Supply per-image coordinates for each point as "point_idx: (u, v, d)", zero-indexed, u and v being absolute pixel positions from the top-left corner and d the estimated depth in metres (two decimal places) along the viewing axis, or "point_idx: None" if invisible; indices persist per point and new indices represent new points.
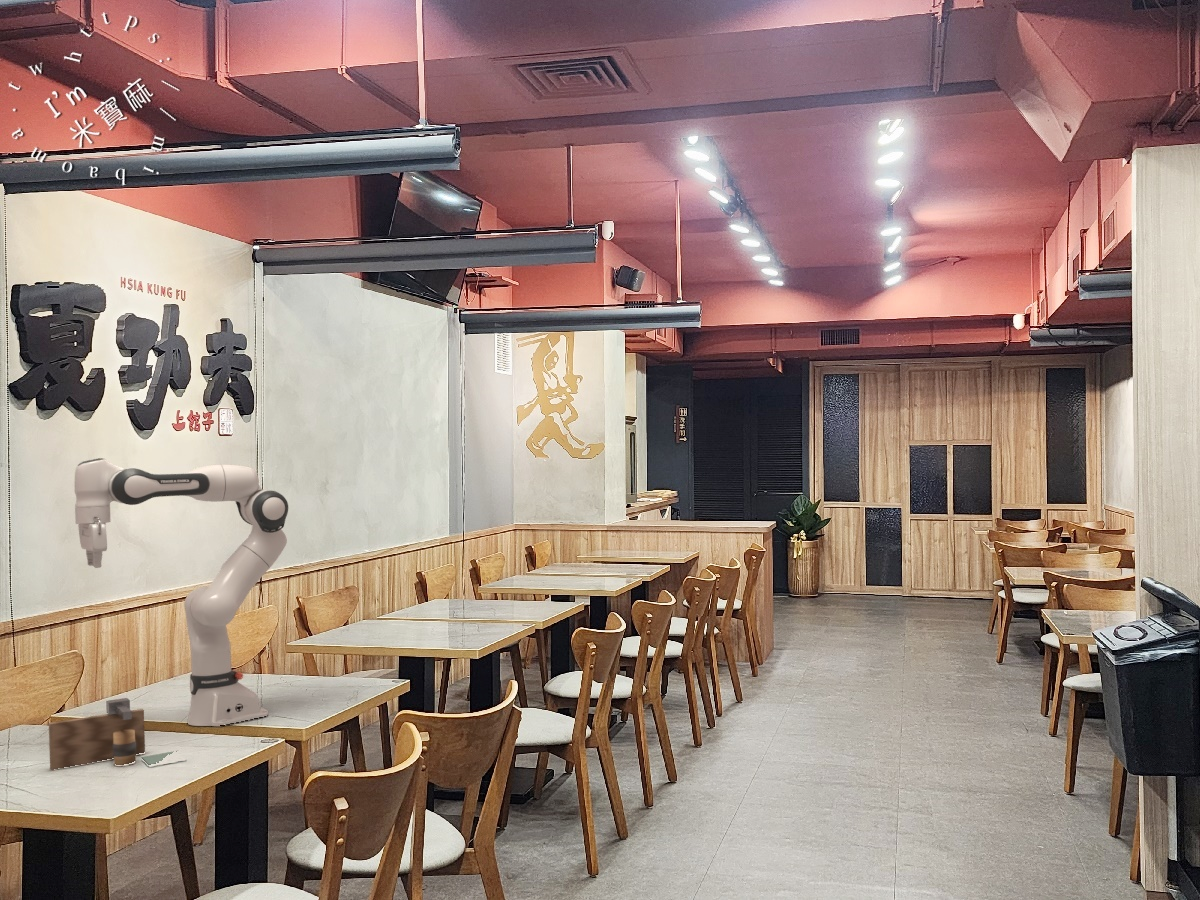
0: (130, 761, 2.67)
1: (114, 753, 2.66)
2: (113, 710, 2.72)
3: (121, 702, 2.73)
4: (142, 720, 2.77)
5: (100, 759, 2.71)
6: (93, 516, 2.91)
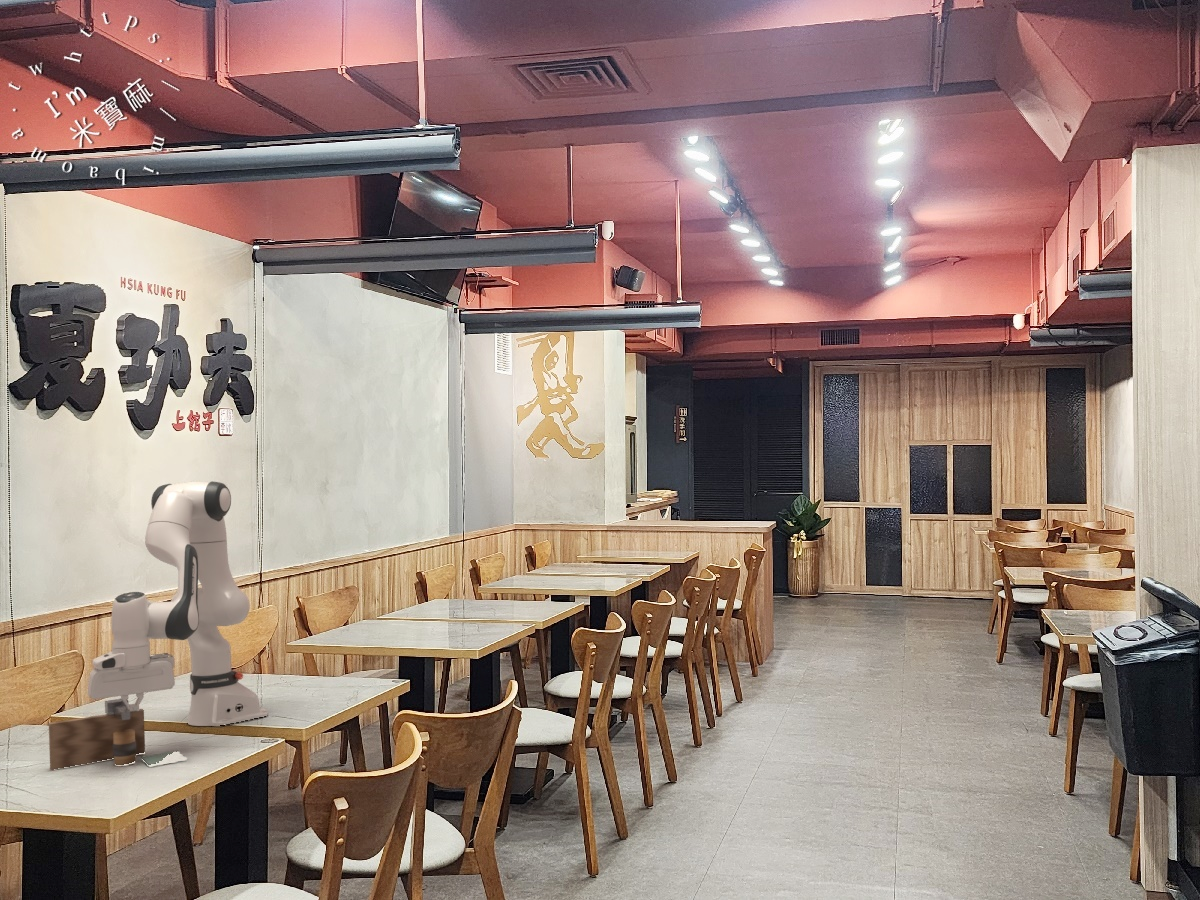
0: (130, 761, 2.67)
1: (114, 753, 2.66)
2: (112, 710, 2.72)
3: (120, 702, 2.73)
4: (142, 720, 2.77)
5: (100, 759, 2.71)
6: None
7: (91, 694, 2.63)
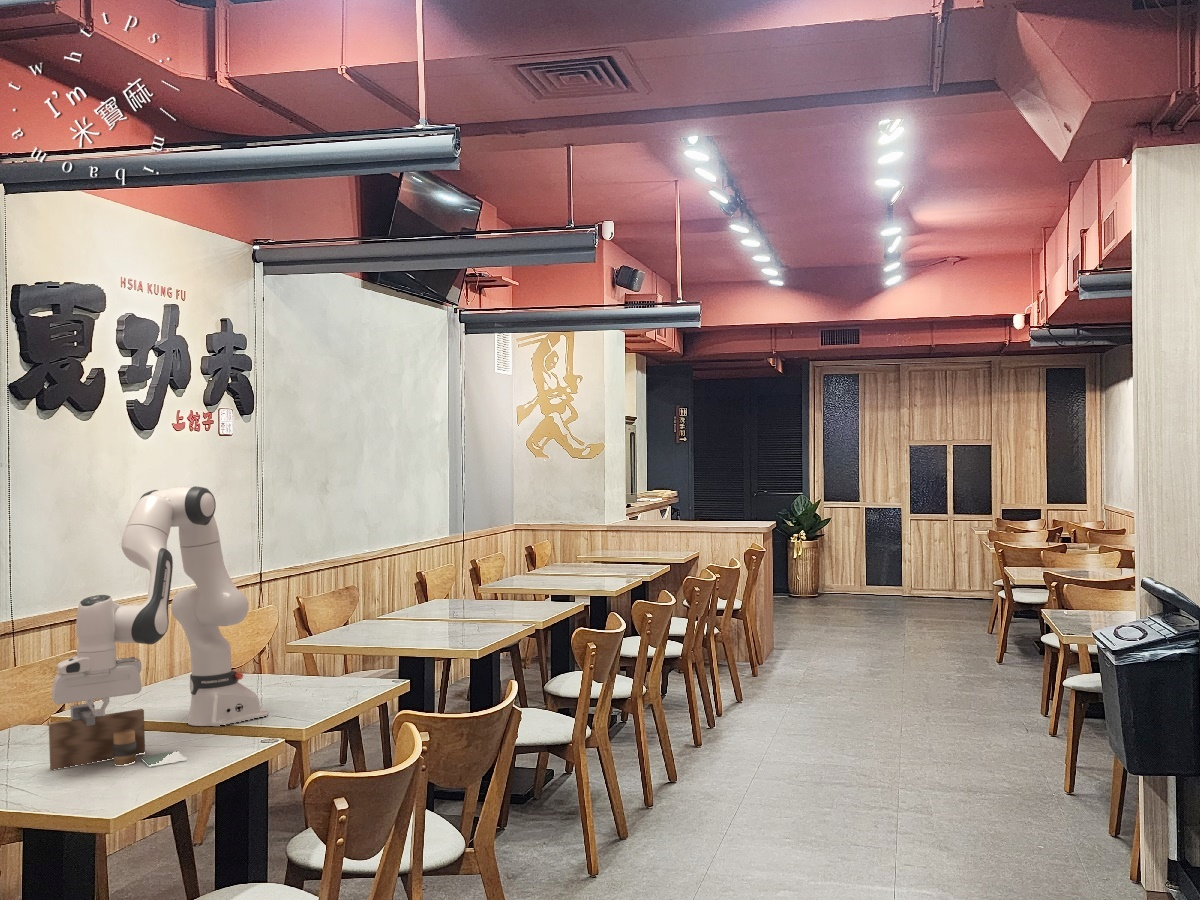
0: (130, 761, 2.67)
1: (114, 753, 2.66)
2: (77, 715, 2.67)
3: (85, 707, 2.68)
4: (142, 720, 2.77)
5: (100, 759, 2.71)
6: None
7: (55, 699, 2.58)
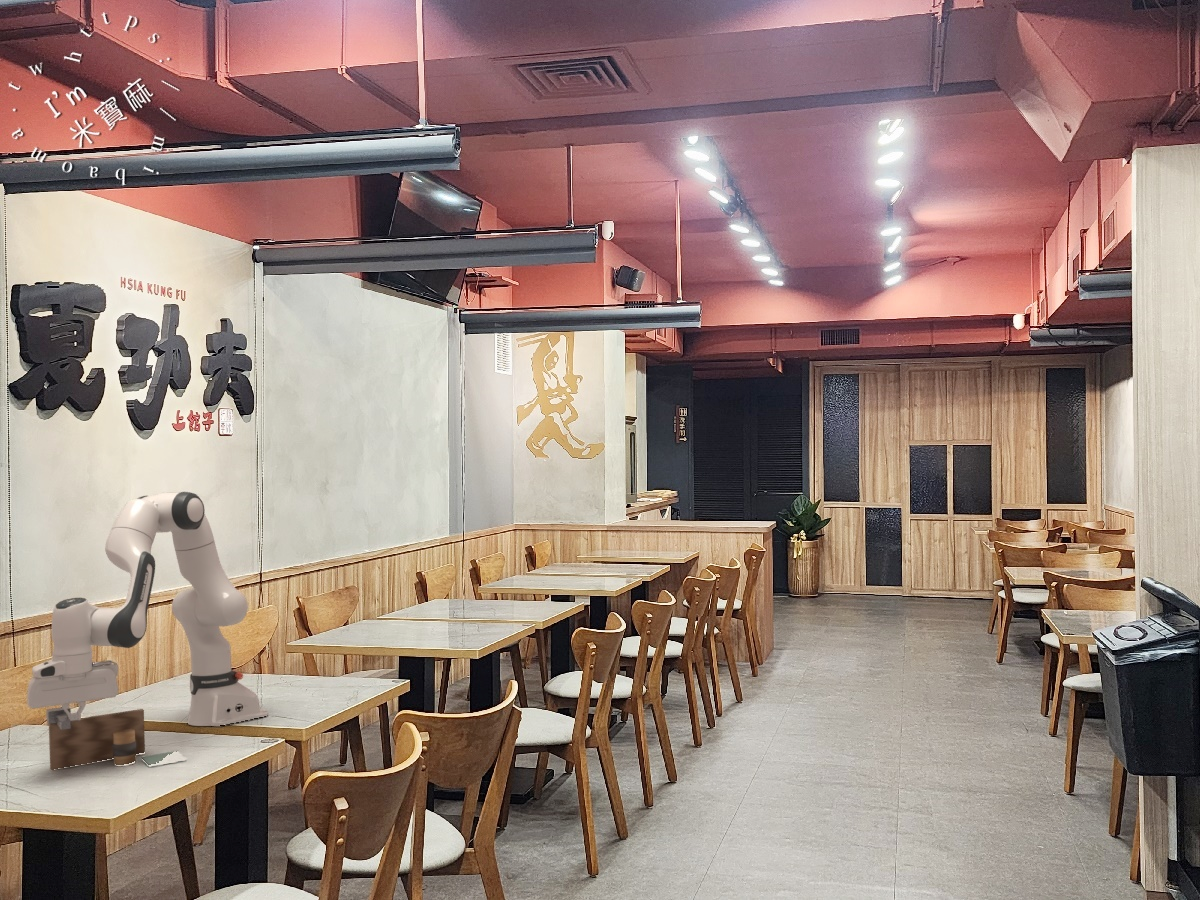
0: (130, 761, 2.67)
1: (114, 753, 2.66)
2: (53, 719, 2.64)
3: (61, 711, 2.65)
4: (142, 720, 2.77)
5: (100, 759, 2.71)
6: None
7: (29, 703, 2.55)
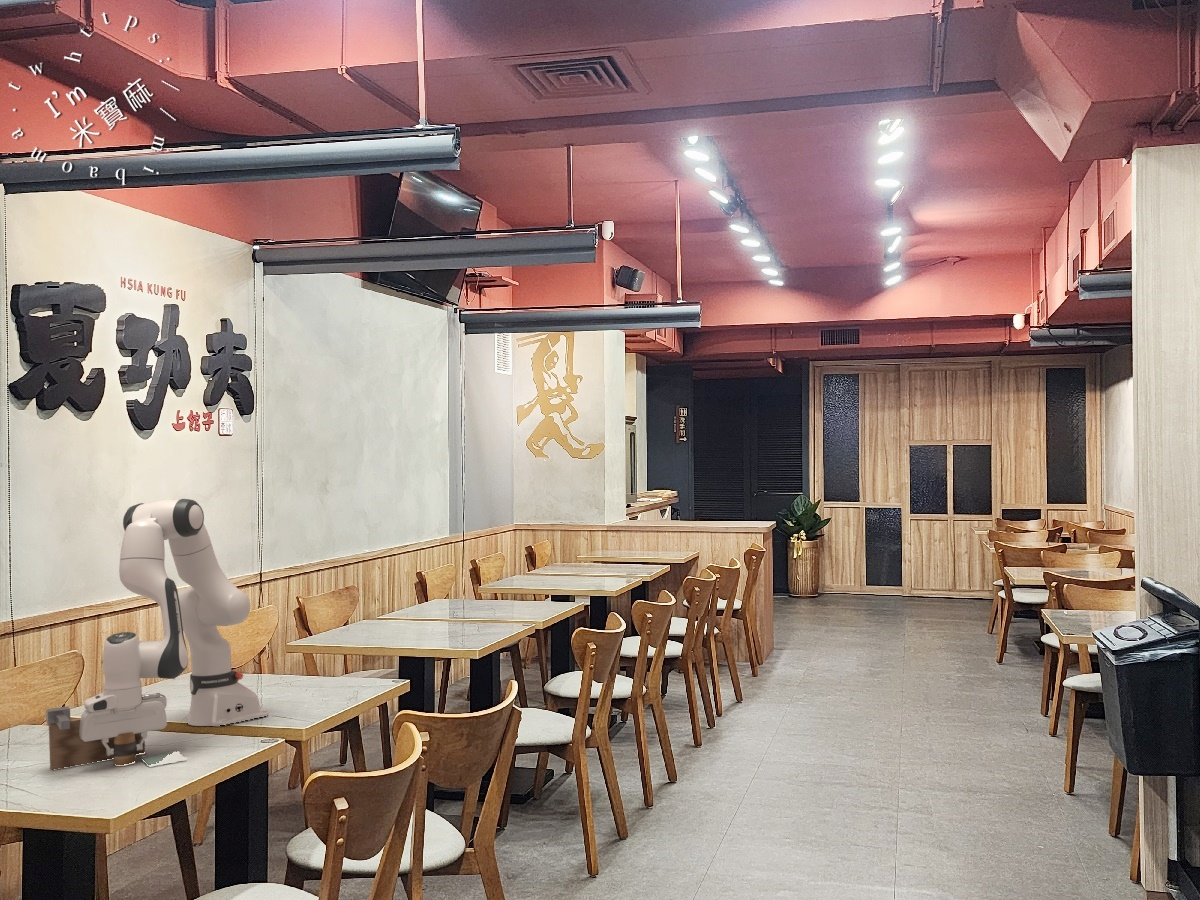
0: (130, 761, 2.67)
1: (114, 753, 2.66)
2: (52, 719, 2.64)
3: (61, 711, 2.65)
4: None
5: (100, 759, 2.71)
6: (141, 694, 2.71)
7: (82, 736, 2.62)
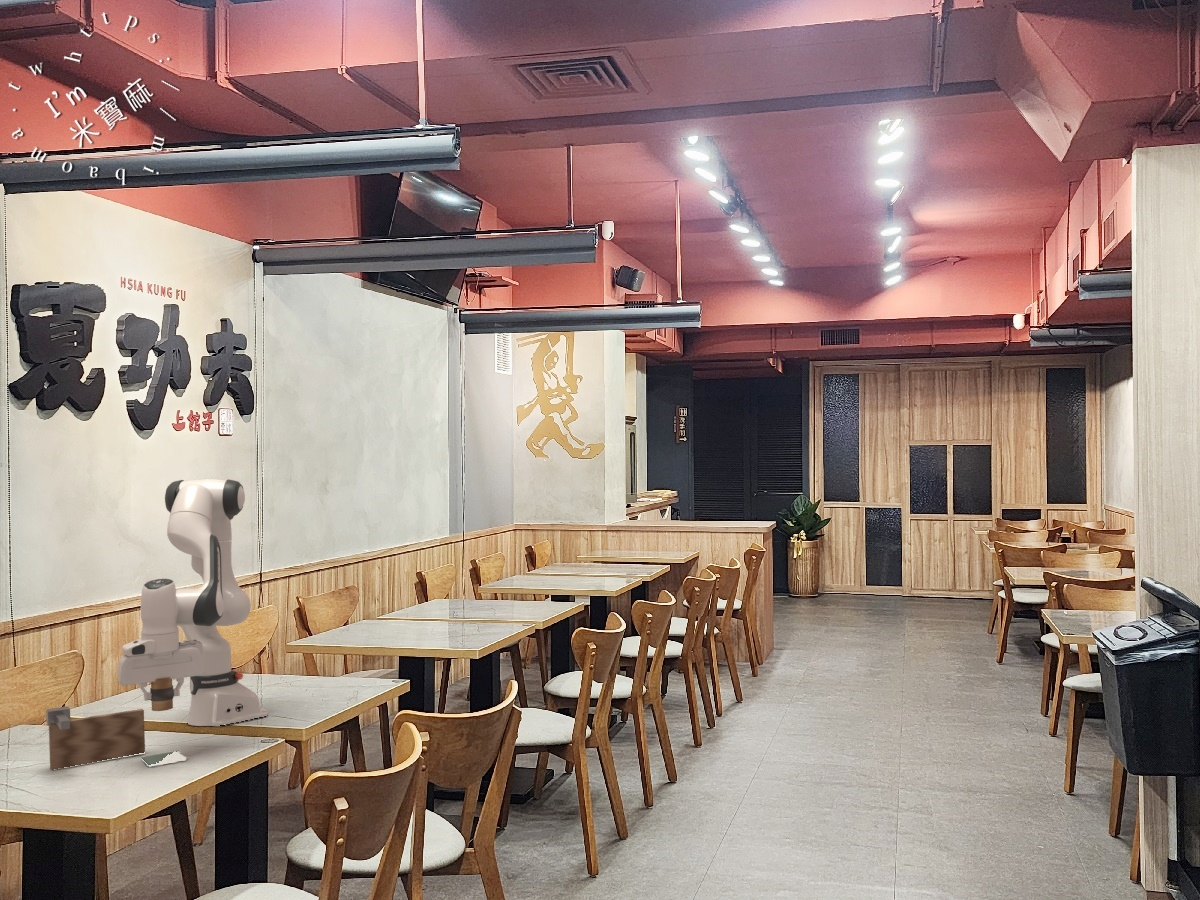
0: (168, 706, 2.69)
1: (152, 698, 2.68)
2: (52, 719, 2.64)
3: (61, 711, 2.65)
4: (142, 720, 2.77)
5: (100, 759, 2.71)
6: None
7: (121, 680, 2.63)
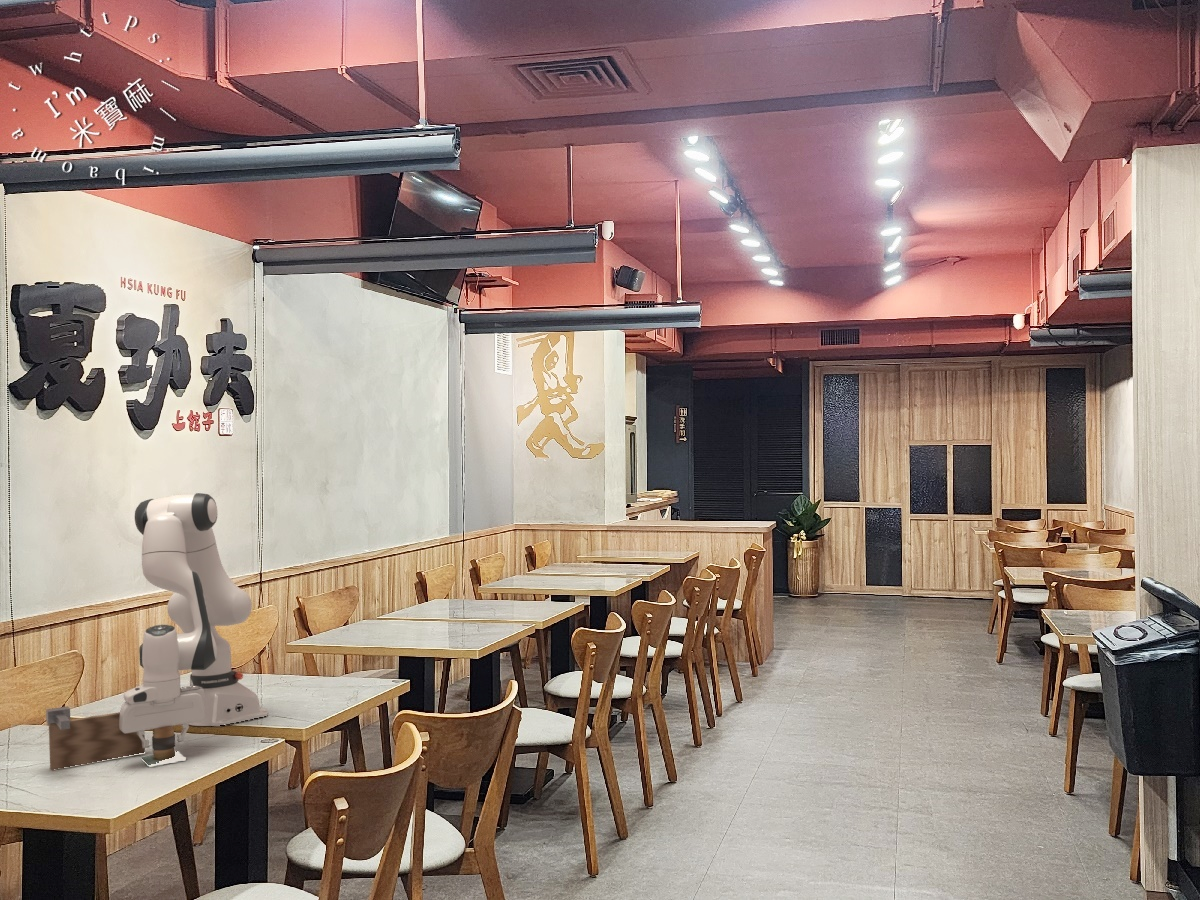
0: (169, 755, 2.69)
1: (154, 747, 2.68)
2: (52, 719, 2.64)
3: (61, 711, 2.65)
4: None
5: (100, 759, 2.71)
6: None
7: (123, 728, 2.63)
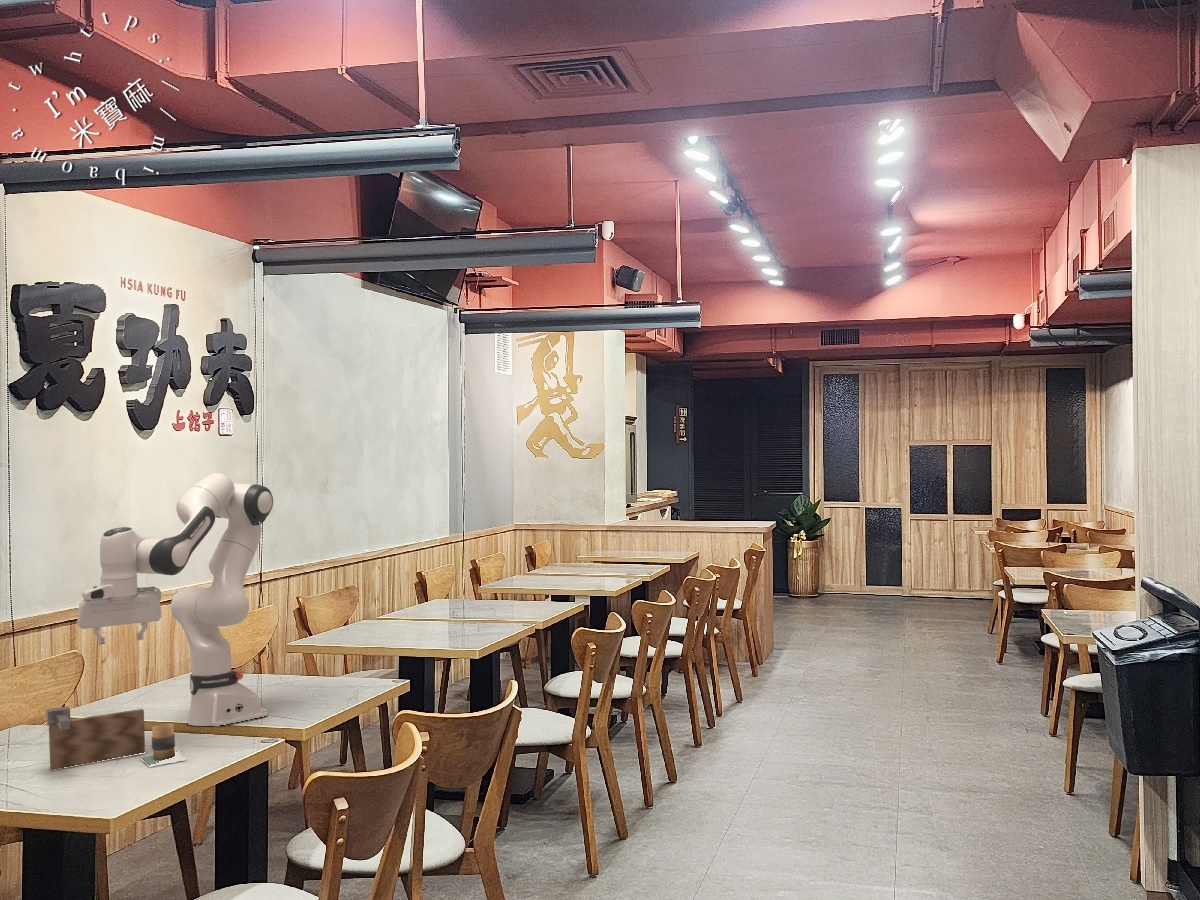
0: (169, 755, 2.69)
1: (153, 747, 2.68)
2: (52, 719, 2.64)
3: (61, 711, 2.65)
4: (142, 720, 2.77)
5: (100, 759, 2.71)
6: None
7: (80, 623, 2.73)
